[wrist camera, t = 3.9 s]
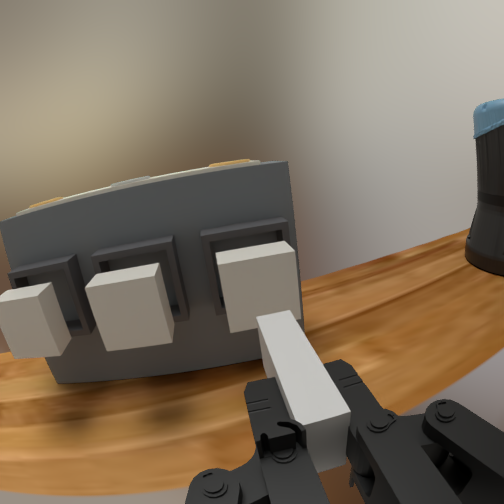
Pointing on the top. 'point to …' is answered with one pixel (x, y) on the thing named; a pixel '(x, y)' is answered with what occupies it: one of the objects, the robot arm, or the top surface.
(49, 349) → the button
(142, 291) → the button middle
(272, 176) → the button panel
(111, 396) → the top surface
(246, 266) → the button
